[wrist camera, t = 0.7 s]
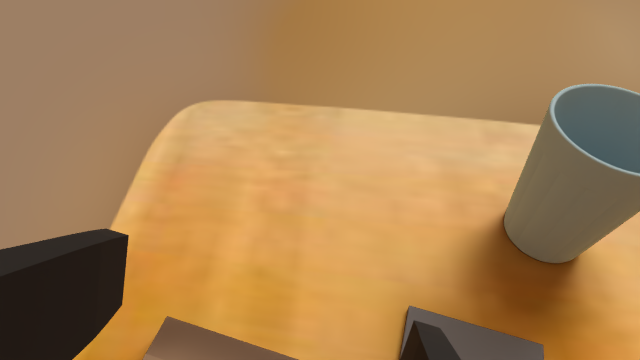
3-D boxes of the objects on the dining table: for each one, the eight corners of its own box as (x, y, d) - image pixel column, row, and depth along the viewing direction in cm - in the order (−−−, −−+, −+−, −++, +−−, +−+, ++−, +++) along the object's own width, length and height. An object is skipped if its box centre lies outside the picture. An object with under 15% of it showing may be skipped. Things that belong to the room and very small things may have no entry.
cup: (468, 232, 30) (527, 125, 22) (514, 175, 34) (579, 67, 26) (571, 300, 27) (684, 203, 19) (609, 229, 31) (716, 124, 23)
